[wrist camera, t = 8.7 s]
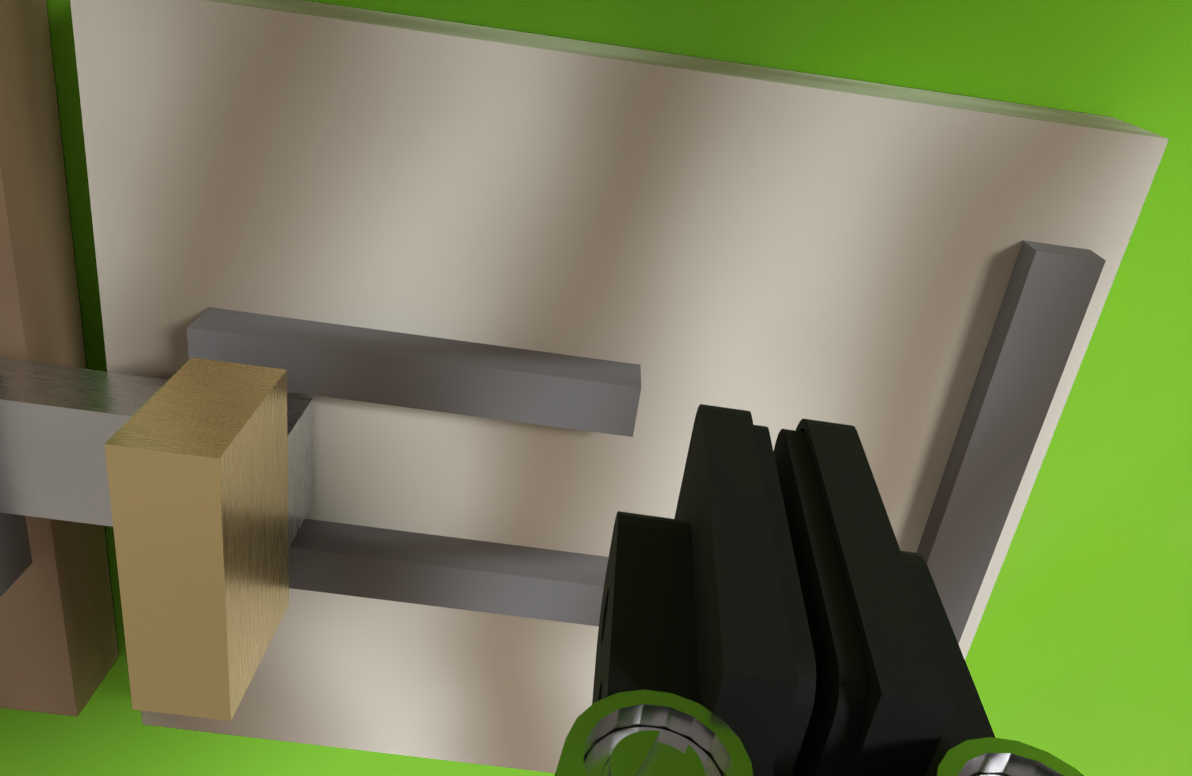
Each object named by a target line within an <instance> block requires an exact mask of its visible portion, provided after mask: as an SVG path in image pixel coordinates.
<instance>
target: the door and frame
mask: <svg viewBox="0 0 1192 776" xmlns="http://www.w3.org/2000/svg"><path fill="white" fill-rule="evenodd" d="M70 3H71V13H72V23H73V33H74V43H75V53H76V63H77V73H78V83H79V93H80V103H81V113H82V123H83V133H84V143H85V153H86V163H87V173H88V183H89V193H90V203H91V213H92V223H93V233H94V243H95V253H96V263H97V273H98V283H99V293H100V303H101V313H102V323H103V333H104V342H105V352H106V362H107V372H114V373H122V374H130V375H137V376H145V377H153V378H160V379H168V380H169V379H170V378H171V377H172V376H173V375H174V374H175V373H176V372H177V371H178V370H179V369H180V368H181V367H182V366H183V365H184V364H185V363H186V362H187V361H189V360H190V359H191V358H192V357H194V358H202V359H209V360H217V361H225V362H232V363H240V364H247V365H255V366H263V367H270V368H278V369H285V370H287V395H291V396H298V397H306V398H313V459H312V506H311V508H310V510H309V512H308V514H307V515H306V517H305V519H304V521H303V523H302V525H301V527H300V528H299V530H298V532H297V534H296V536H295V538H294V539H293V541H292V543H291V545H290V547H289V605H288V607H287V609H286V611H285V613H284V615H283V617H282V619H281V621H280V623H279V625H278V627H277V629H276V631H275V633H274V635H273V637H272V639H271V641H270V643H269V645H268V647H267V650H266V652H265V654H264V656H263V658H262V660H261V662H260V664H259V666H258V668H257V670H256V672H255V674H254V676H253V678H252V680H251V682H250V684H249V686H248V688H247V690H246V692H245V694H244V696H243V698H242V700H241V702H240V704H239V706H238V708H237V710H236V712H235V714H234V716H233V718H232V720H231V721H225V720H217V719H209V718H200V717H192V716H183V715H175V714H167V713H158V712H150V711H141V712H142V722H143V724H144V725H153V726H161V727H170V728H178V729H187V730H195V731H204V732H212V733H221V734H229V735H237V736H246V737H254V738H263V739H271V740H280V741H288V742H297V743H305V744H313V745H322V746H330V747H339V748H347V749H356V750H364V751H373V752H381V753H389V754H398V755H406V756H415V757H423V758H432V759H440V760H449V761H457V762H466V763H474V764H482V765H491V766H499V767H508V768H516V769H525V770H533V771H542V772H550V773H555V772H556V769H557V766H558V762H559V759H560V756H561V752H562V749H563V746H564V743H565V739H566V737H567V735H568V733H569V731H570V730H571V728H572V726H573V724H574V722H575V720H576V718H577V717H578V716H579V715H581V714H582V713H583V712H584V711H585V710H586V709H588V708H589V707H590V706H591V705H592V699H593V687H594V674H595V662H596V650H597V639H598V629H599V620H600V612H601V604H602V597H603V589H604V582H605V576H606V570H607V564H608V558H609V552H610V546H611V540H612V534H613V529H614V523H615V519H616V514H617V512H618V511H621V512H628V513H635V514H642V515H649V516H657V517H664V518H671V519H674V518H675V513H676V508H677V503H678V498H679V493H680V488H681V484H682V479H683V474H684V469H685V464H686V459H687V454H688V449H689V445H690V440H691V435H692V430H693V425H694V421H695V416H696V412H697V409H698V407H699V405H700V404H703V405H710V406H718V407H725V408H732V409H739V410H746V411H750V412H751V415H752V420H753V425H759V426H766V427H768V429H769V432H770V437H771V442H772V447H773V451H774V447H775V443H776V440H777V436H778V434H779V432H780V430H781V429H788V430H795V431H796V428H797V426H798V424H799V422H800V421H801V420H802V419H810V420H817V421H824V422H831V423H838V424H846V425H852V426H854V427H855V428H856V430H857V432H858V435H859V438H860V440H861V443H862V446H863V449H864V451H865V454H866V457H867V460H868V462H869V465H870V468H871V471H872V473H873V476H874V479H875V482H876V484H877V487H878V490H879V493H880V495H881V498H882V501H883V504H884V507H885V509H886V512H887V515H888V518H889V520H890V523H891V526H892V529H893V531H894V534H895V537H896V540H897V542H898V545H899V548H900V551H907V552H915V553H917V554H919V555H920V556H922V557H923V559H924V561H925V562H926V564H927V566H928V568H929V571H930V573H931V576H932V578H933V581H934V584H935V586H936V589H937V591H938V594H939V596H940V599H941V601H942V604H943V606H944V609H945V611H946V614H947V616H948V619H949V622H950V624H951V627H952V629H953V632H954V634H955V637H956V639H957V642H958V644H959V647H960V649H961V652H962V654H963V657H964V660H965V658H966V656H967V653H968V651H969V648H970V646H971V643H972V641H973V638H974V635H975V633H976V630H977V628H978V625H979V623H980V620H981V618H982V615H983V612H984V610H985V607H986V605H987V602H988V600H989V597H990V595H991V592H992V589H993V587H994V584H995V582H996V579H997V577H998V574H999V572H1000V569H1001V567H1002V564H1003V561H1004V559H1005V556H1006V554H1007V551H1008V549H1009V546H1010V544H1011V541H1012V538H1013V536H1014V533H1015V531H1016V528H1017V526H1018V523H1019V521H1020V518H1021V515H1022V513H1023V510H1024V508H1025V505H1026V503H1027V500H1028V498H1029V495H1030V492H1031V490H1032V487H1033V485H1034V482H1035V480H1036V477H1037V475H1038V472H1039V469H1040V467H1041V464H1042V462H1043V459H1044V457H1045V454H1046V452H1047V449H1048V447H1049V444H1050V441H1051V439H1052V436H1053V434H1054V431H1055V429H1056V426H1057V424H1058V421H1059V418H1060V416H1061V413H1062V411H1063V408H1064V406H1065V403H1066V401H1067V398H1068V395H1069V393H1070V390H1071V388H1072V385H1073V383H1074V380H1075V378H1076V375H1077V372H1078V370H1079V367H1080V365H1081V362H1082V360H1083V357H1084V355H1085V352H1086V349H1087V347H1088V344H1089V342H1090V339H1091V337H1092V334H1093V332H1094V329H1095V327H1096V324H1097V321H1098V319H1099V316H1100V314H1101V311H1102V309H1103V306H1104V304H1105V301H1106V298H1107V296H1108V293H1109V291H1110V288H1111V286H1112V283H1113V281H1114V278H1115V275H1116V273H1117V270H1118V268H1119V265H1120V263H1121V260H1122V258H1123V255H1124V252H1125V250H1126V247H1127V245H1128V242H1129V240H1130V237H1131V235H1132V232H1133V229H1134V227H1135V224H1136V222H1137V219H1138V217H1139V214H1140V212H1141V209H1142V206H1143V204H1144V201H1145V199H1146V196H1147V194H1148V191H1149V189H1150V186H1151V184H1152V181H1153V178H1154V176H1155V173H1156V171H1157V168H1158V166H1159V163H1160V161H1161V158H1162V155H1163V153H1164V150H1165V148H1166V145H1167V143H1168V140H1169V139H1168V138H1165V137H1162V136H1160V135H1157V134H1155V133H1152V132H1150V131H1147V130H1144V129H1142V128H1139V127H1137V126H1134V125H1132V124H1129V123H1126V122H1124V121H1121V120H1119V119H1116V118H1114V117H1108V116H1101V115H1094V114H1087V113H1080V112H1073V111H1066V110H1059V109H1052V108H1045V107H1038V106H1031V105H1024V104H1018V103H1011V102H1004V101H997V100H990V99H983V98H976V97H969V96H962V95H955V94H948V93H941V92H934V91H928V90H921V89H914V88H907V87H900V86H893V85H886V84H879V83H872V82H865V81H858V80H851V79H844V78H838V77H831V76H824V75H817V74H810V73H803V72H796V71H789V70H782V69H775V68H768V67H761V66H754V65H748V64H741V63H734V62H727V61H720V60H713V59H706V58H699V57H692V56H685V55H678V54H671V53H664V52H658V51H651V50H644V49H637V48H630V47H623V46H616V45H609V44H602V43H595V42H588V41H581V40H574V39H568V38H561V37H554V36H547V35H540V34H533V33H526V32H519V31H512V30H505V29H498V28H491V27H484V26H478V25H471V24H464V23H457V22H450V21H443V20H436V19H429V18H422V17H415V16H408V15H401V14H395V13H388V12H381V11H374V10H367V9H360V8H353V7H346V6H339V5H332V4H325V3H318V2H311V1H305V0H70ZM0 358H7V359H15V360H22V361H30V362H38V363H45V364H53V365H61V366H68V367H76V368H84V369H87V365H86V356H85V347H84V338H83V329H82V320H81V311H80V302H79V293H78V284H77V275H76V265H75V256H74V247H73V238H72V229H71V220H70V211H69V202H68V193H67V184H66V175H65V166H64V157H63V148H62V139H61V130H60V121H59V111H58V102H57V93H56V84H55V75H54V66H53V57H52V48H51V39H50V30H49V21H48V12H47V3H46V0H0ZM118 657H119V655H118V646H117V637H116V628H115V619H114V610H113V601H112V592H111V583H110V573H109V564H108V555H107V546H106V537H105V528H104V525H96V524H88V523H80V522H72V521H64V520H56V519H48V518H40V517H32V516H24V515H16V514H8V513H0V707H1V708H9V709H18V710H26V711H35V712H43V713H52V714H60V715H68V716H78V715H79V714H80V712H81V711H82V709H83V708H84V706H85V705H86V703H87V702H88V701H89V699H90V698H91V696H92V695H93V693H94V692H95V690H96V689H97V688H98V686H99V685H100V683H101V682H102V680H103V679H104V677H105V676H106V675H107V673H108V672H109V670H110V669H111V667H112V666H113V664H114V663H115V662H116V660H117V659H118Z"/></svg>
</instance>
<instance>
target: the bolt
mask: <svg viewBox="0 0 1192 776" xmlns="http://www.w3.org/2000/svg"><path fill="white" fill-rule="evenodd" d="M312 459H313V398H306V397H298V396H291V395H287V370H285V369H278V368H270V367H263V366H255V365H247V364H240V363H232V362H225V361H217V360H209V359H202V358H194V357H192V358H191V359H190V360H189V361H187V362H186V363H185V364H184V365H183V366H182V367H181V368H180V369H179V370H178V371H177V372H176V373H175V374H174V375H173V376H172V377H171V378H170V379H169V380H168V379H160V378H153V377H145V376H137V375H130V374H122V373H114V372H107V371H99V370H91V369H84V368H76V367H68V366H61V365H53V364H45V363H38V362H30V361H22V360H15V359H7V358H0V513H8V514H16V515H24V516H32V517H40V518H48V519H56V520H64V521H72V522H80V523H88V524H96V525H104V526H112V527H113V530H114V539H115V549H116V558H117V568H118V577H119V587H120V596H121V606H122V615H123V625H124V634H125V644H126V653H127V663H128V672H129V681H130V691H131V700H132V709H133V710H141V711H150V712H158V713H167V714H175V715H183V716H192V717H200V718H209V719H217V720H225V721H231V720H232V718H233V716H234V714H235V712H236V710H237V708H238V706H239V704H240V702H241V700H242V698H243V696H244V694H245V692H246V690H247V688H248V686H249V684H250V682H251V680H252V678H253V676H254V674H255V672H256V670H257V668H258V666H259V664H260V662H261V660H262V658H263V656H264V654H265V652H266V650H267V647H268V645H269V643H270V641H271V639H272V637H273V635H274V633H275V631H276V629H277V627H278V625H279V623H280V621H281V619H282V617H283V615H284V613H285V611H286V609H287V607H288V605H289V547H290V545H291V543H292V541H293V539H294V538H295V536H296V534H297V532H298V530H299V528H300V527H301V525H302V523H303V521H304V519H305V517H306V515H307V514H308V512H309V510H310V508H311V506H312Z"/></svg>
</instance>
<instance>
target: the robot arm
mask: <svg viewBox="0 0 1192 776" xmlns="http://www.w3.org/2000/svg"><path fill="white" fill-rule="evenodd" d="M555 776H1084V775H1083V774H1081V773H1080V772H1079V771H1078V770H1077V769H1075V768H1074V767H1072V766H1070V765H1069V764H1067V763H1065V762H1064V761H1062V760H1060V759H1058V758H1057V757H1055V756H1053V755H1051V754H1050V753H1048V752H1046V751H1043V750H1041V749H1038V748H1035V747H1033V746H1030V745H1027V744H1024V743H1022V742H1019V741H1014V740H1007V739H1000V738H995V736H994V733H993V731H992V728H991V725H990V723H989V720H988V718H987V715H986V713H985V710H984V708H983V705H982V703H981V700H980V698H979V695H978V693H977V690H976V687H975V685H974V682H973V680H972V677H971V675H970V672H969V670H968V667H967V665H966V662H965V660H964V657H963V654H962V652H961V649H960V647H959V644H958V642H957V639H956V637H955V634H954V632H953V629H952V627H951V624H950V622H949V619H948V616H947V614H946V611H945V609H944V606H943V604H942V601H941V599H940V596H939V594H938V591H937V589H936V586H935V584H934V581H933V578H932V576H931V573H930V571H929V568H928V566H927V564H926V562H925V561H924V559H923V557H922V556H920V555H919V554H917V553H915V552H907V551H900V548H899V545H898V542H897V540H896V537H895V534H894V531H893V529H892V526H891V523H890V520H889V518H888V515H887V512H886V509H885V507H884V504H883V501H882V498H881V495H880V493H879V490H878V487H877V484H876V482H875V479H874V476H873V473H872V471H871V468H870V465H869V462H868V460H867V457H866V454H865V451H864V449H863V446H862V443H861V440H860V438H859V435H858V432H857V430H856V428H855V427H854V426H852V425H846V424H838V423H831V422H824V421H817V420H810V419H802V420H801V421H800V422H799V424H798V426H797V428H796V431H795V430H788V429H781V430H780V432H779V434H778V436H777V440H776V443H775V447H774V451H773V447H772V442H771V437H770V432H769V429H768V427H766V426H759V425H753V420H752V415H751V412H750V411H746V410H739V409H732V408H725V407H718V406H710V405H703V404H700V405H699V407H698V409H697V412H696V416H695V421H694V425H693V430H692V435H691V440H690V445H689V449H688V454H687V459H686V464H685V469H684V474H683V479H682V484H681V488H680V493H679V498H678V503H677V508H676V513H675V518H674V519H671V518H664V517H657V516H649V515H642V514H635V513H628V512H621V511H618V512H617V514H616V519H615V523H614V529H613V534H612V540H611V546H610V552H609V558H608V564H607V570H606V576H605V582H604V589H603V597H602V604H601V612H600V620H599V629H598V639H597V650H596V662H595V674H594V687H593V699H592V705H591V706H590V707H589V708H588V709H586V710H585V711H584V712H583V713H582V714H581V715H579V716H578V717H577V718H576V720H575V722H574V724H573V726H572V728H571V730H570V731H569V733H568V735H567V737H566V739H565V743H564V746H563V749H562V752H561V756H560V759H559V762H558V766H557V769H556V772H555Z"/></svg>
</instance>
